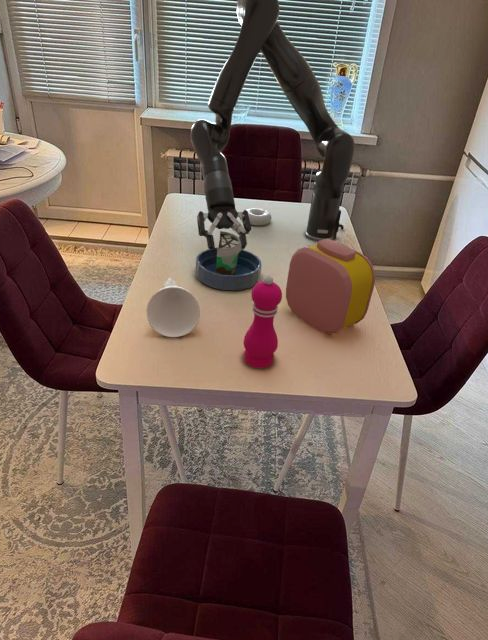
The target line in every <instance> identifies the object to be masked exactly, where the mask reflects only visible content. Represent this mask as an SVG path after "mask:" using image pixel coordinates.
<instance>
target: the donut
mask: <svg viewBox="0 0 488 640" xmlns="http://www.w3.org/2000/svg"><path fill="white" fill-rule="evenodd" d="M246 210H247V211H248V215H249V220H250V224H251V226H266V225H268V224H270V223H271V221H272V215H271V213H270V212H269V211H268V210H266V209H264V208H259V207H253V208H248V209H246Z"/></svg>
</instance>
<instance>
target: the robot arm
mask: <svg viewBox="0 0 488 640" xmlns="http://www.w3.org/2000/svg"><path fill="white" fill-rule="evenodd" d="M236 15H237V19H238V22H239V24H240V25H241V27H240V30H239V34H238V37H237V40H236V43H235V45H234V47H233V49H232V51H231V54H230V55H229V57H228V58H227V60H226V62H225V63H224V65H223V67H222V68H221V71H219V75H218V76H217V79H216V81H215V83H214V86H213V89H212V92H211V94H210V96H209V100H208V103H207V108H208V109H209V111H211V113H213V114H214V115H215V121H214V122H212V121H209V120H206V119H202V118H201V119H197V120H195V121H194V122H193V124H192V126H191V129H190V141H191V144H192V148H193V150H194V153H195V155H196V156H197V160H199V163H200V166H201V172H202V179H203V189H204V190H203V193H204V196H205V201H206V207H207V208H206V209H207V212H203V211H202V210H200V211H199V212H198V214H197V215H196V221H197V231H198V236H199V237H205V239H206V244H207V249H210V250H211V251H214V249H215V248H216V247H215V246H216V245H215V240H214V235H213V232H214V231H215V229H217V230H224V229H225V230H230V229H231V230H232V231H234V232H235V234H237V235H238V238H239V239H240V242H241V248H242V250H245V248H246V247H247V246H248V241H247V235H249V234H250V232H251V231H252V229H253V228H252V224H250V220H249V215H248V211H247V209H244V210H243V211H238V210H237V209H236V203H235V198H234V191H233V185H232V180H231V178H230V173H229V168H228V161H227V158H226V157H225V155H224V154H223V153H222V152H223V150H224V149H225V148H226V147H227V145H228V143H229V140H230V133H231V127H232V123H233V122H232V120H233V113H234V111H235V109H236V106H237V104H238V101H239V99H240V96H241V93H242V92H243V88H244V87H245V84H246V81H247V79H248V76H249V74H250V73H251V70H252V68H253V66H254V64H255V62H256V59H257V58H258V56H259V54H260V52H261V54H262V55H263V57H264V59H265V61H266V62H267V65H268V66H269V69H270V71H271V72H272V74H273V76H274V78H275V80H276V81H277V83H278V85H279V87H280V89H281V91H282V93H283V94H284V95H285V97H286V99H287V100H288V102H289V103H290V105H291V107H292V108H293V109H294V112H296V114H297V115H298V117H299V118H300V120H301V121H302V122H303V123H304V125H305V127H306V128H307V130H308V132H309V135H310V136H311V139H312V141H313V143H314V145H315V148H316V149H317V151H318V154H320V156H321V158H323V163H322V168H321V170H320V171H318V172H316V174H315V178H314V184H313V189H312V196H311V200H310V207H309V214H308V220H307V226H306V230H305V237H307V238H308V239H310V240H313V241H316V242H318V241H320V240H323V239H330V240H333V241H334V240H336V239H337V234H338V233H339V229H340V230H344V229H345V226H344V225H343V224H341V223H340V220H341V215H342V210H341V209H340V208H341V203H342V197H343V192H344V188H345V183H346V181H347V179H348V178H349V175H350V173H351V172H350V171H351V169H352V168H351V167H352V164H353V159H354V155H355V151H356V150H355V148H356V143H355V139H354V138H353V136H352V135H351V134H349V132H347V131H345V130H344V129H341V128H340V127H339V126H338V125H337V124H336V122H335V120H334V119H333V118H332V116H331V115H330V113H329V111H328V110H327V107H326V104H325V99H324V95H323V92H322V88H321V85H320V83H319V80H318V79H317V77H316V75H315V73H314V71H313V69H312V68H311V65H310V64H309V63H308V61H307V60H306V58H305V57H304V56H303V55H302V53H301V52H300V51H299V50H298V49H297V48H296V46H295V45H294V44H293V43H292V42H291V40H289V38H288V37H287V36H286V33H285V32H284V31H283V29H282V27H281V25H280V23H279V21H278V20H279V17H280V3H279V0H237V2H236ZM238 218H239V220H240V221H242V224H241V222H240V221H239V220H238ZM206 220H208V221H209V222H210V223H211V225H210V226H209V228H208V230H207V229H206V226H205V222H206Z"/></svg>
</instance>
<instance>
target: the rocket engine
mask: <svg viewBox="0 0 488 640" xmlns="http://www.w3.org/2000/svg"><path fill="white" fill-rule="evenodd" d="M200 317H201V307H200V304H199V302H198V300H197V298H196V297H195V296H194V295H193V294H192V292H190V291H189V290H187V289H186V288H184V287H182V286H179V285H177V282H175V281H174V280H173V278H172V277H168V278H167V279H166V281H164V283H163V285H162V287H161V289H159V290H157V291H155V293H154V294H153V295H152V296H151V297H150V298H149V301H148V302H147V305H146V318H147V321H148V323H149V325H150V327H151V328H152V329H153V330H154V331H155V332H157V334H159V335H161V336H164V337H169V338H179V337H183V336H186V335H188V334H189V333H191V332H192V331H193V330H194V329H195V328H196V326H198V323H199V322H200Z"/></svg>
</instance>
